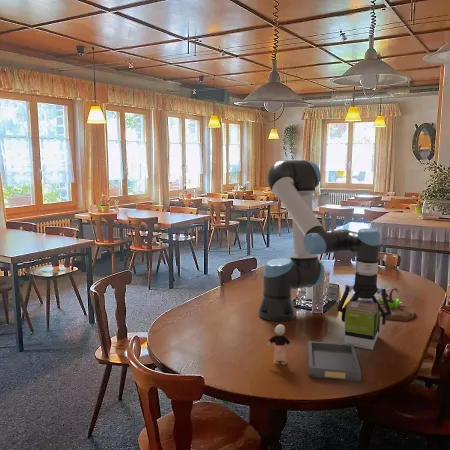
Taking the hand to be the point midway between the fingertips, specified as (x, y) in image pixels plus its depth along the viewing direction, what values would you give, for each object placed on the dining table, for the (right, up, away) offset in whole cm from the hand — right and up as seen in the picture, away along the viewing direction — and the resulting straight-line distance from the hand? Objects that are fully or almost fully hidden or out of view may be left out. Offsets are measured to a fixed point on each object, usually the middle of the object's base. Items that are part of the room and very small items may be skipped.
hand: (362, 331), depth 162 cm
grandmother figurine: (-32, -6, -18) cm, 37 cm away
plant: (+22, 0, +32) cm, 38 cm away
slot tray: (-15, -6, -18) cm, 25 cm away
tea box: (0, -3, 0) cm, 3 cm away
